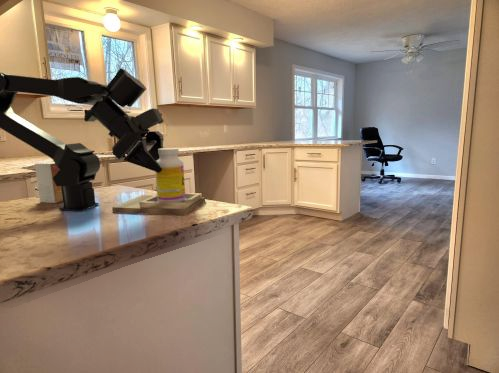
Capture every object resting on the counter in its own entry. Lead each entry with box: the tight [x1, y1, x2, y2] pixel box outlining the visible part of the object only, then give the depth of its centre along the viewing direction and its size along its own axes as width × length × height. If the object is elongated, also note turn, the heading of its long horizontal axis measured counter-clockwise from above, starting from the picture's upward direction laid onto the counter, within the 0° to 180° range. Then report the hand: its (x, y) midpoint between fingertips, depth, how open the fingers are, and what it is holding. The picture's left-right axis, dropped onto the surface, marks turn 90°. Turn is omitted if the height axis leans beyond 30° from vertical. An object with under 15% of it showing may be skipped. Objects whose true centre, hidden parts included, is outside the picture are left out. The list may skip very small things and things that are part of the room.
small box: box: [34, 161, 63, 204], centre depth 87 cm, size 8×6×10 cm
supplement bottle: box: [154, 147, 186, 203], centre depth 76 cm, size 7×7×13 cm
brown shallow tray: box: [111, 192, 206, 217], centre depth 78 cm, size 18×13×2 cm
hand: (166, 168), depth 76 cm, fingers open, 9 cm apart
